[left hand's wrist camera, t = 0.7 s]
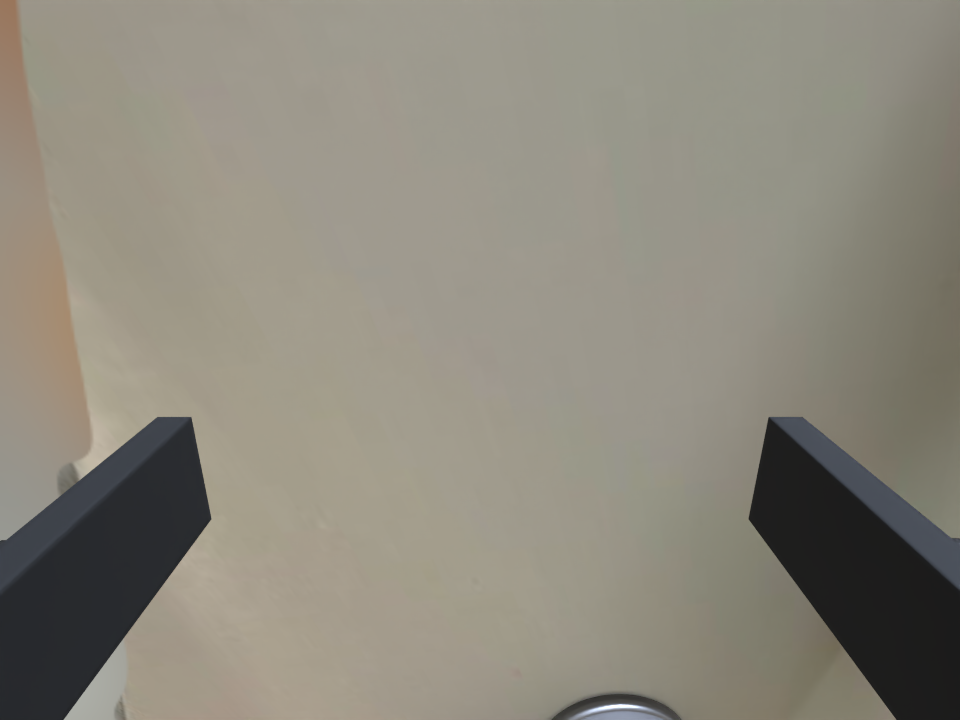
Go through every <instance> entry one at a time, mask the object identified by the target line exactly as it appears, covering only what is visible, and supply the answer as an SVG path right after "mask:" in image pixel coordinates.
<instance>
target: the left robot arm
mask: <svg viewBox="0 0 960 720" xmlns="http://www.w3.org/2000/svg"><path fill="white" fill-rule="evenodd" d="M210 520H211V514H210V509H209V504H208V499H207V494H206V489H205V484H204V479H203V474H202V469H201V464H200V459H199V454H198V449H197V444H196V439H195V434H194V428H193V423H192V418H191V417H157V418H156V419H155V420H153V421H152V422H151V423H150V424H148V425H147V426H146V427H145V428H144V429H142V430H141V431H140V432H139V433H137V434H136V435H135V436H134V437H133V438H131V439H130V440H129V441H128V442H126V443H125V444H124V445H123V446H121V447H120V448H119V449H118V450H117V451H115V452H114V453H113V454H112V455H110V456H109V457H108V458H107V459H105V460H104V461H103V462H102V463H101V464H99V465H98V466H97V467H96V468H94V469H93V470H92V471H91V472H89V473H88V474H87V475H86V476H85V477H83V478H82V479H81V480H80V481H78V482H77V483H76V484H75V485H74V486H72V487H71V488H70V489H69V490H67V491H66V492H65V493H64V494H62V495H61V496H60V497H59V498H58V499H56V500H55V501H54V502H53V503H51V504H50V505H49V506H48V507H46V508H45V509H44V510H43V511H42V512H40V513H39V514H38V515H37V516H35V517H34V518H33V519H32V520H31V521H29V522H28V523H27V524H26V525H24V526H23V527H22V528H21V529H20V530H18V531H17V532H16V533H15V534H13V535H12V536H11V537H10V538H8V539H7V540H1V541H0V720H64V718H65V717H66V716H67V714H68V713H69V711H70V710H71V709H72V707H73V706H74V705H75V703H76V702H77V701H78V699H79V698H80V697H81V695H82V694H83V692H84V691H85V690H86V688H87V687H88V686H89V684H90V683H91V682H92V680H93V679H94V677H95V676H96V675H97V674H98V672H99V671H100V669H101V668H102V667H103V665H104V664H105V663H106V661H107V660H108V658H109V657H110V656H111V654H112V653H113V652H114V650H115V649H116V648H117V646H118V645H119V644H120V642H121V641H122V640H123V638H124V637H125V636H126V634H127V633H128V631H129V630H130V629H131V627H132V626H133V625H134V623H135V622H136V621H137V619H138V618H139V617H140V615H141V614H142V612H143V611H144V610H145V608H146V607H147V606H148V604H149V603H150V602H151V600H152V599H153V598H154V596H155V595H156V594H157V592H158V591H159V589H160V588H161V587H162V585H163V584H164V583H165V581H166V580H167V579H168V577H169V576H170V575H171V573H172V572H173V570H174V569H175V568H176V566H177V565H178V564H179V562H180V561H181V560H182V558H183V557H184V556H185V554H186V553H187V551H188V550H189V549H190V547H191V546H192V545H193V543H194V542H195V541H196V539H197V538H198V537H199V535H200V534H201V532H202V531H203V530H204V528H205V527H206V526H207V524H208V523H209V522H210ZM749 520H750V522H751V523H752V524H753V526H754V527H755V528H756V530H757V531H758V532H759V534H760V535H761V537H762V538H763V539H764V541H765V542H766V543H767V545H768V546H769V547H770V549H771V550H772V551H773V553H774V554H775V556H776V557H777V558H778V560H779V561H780V562H781V564H782V565H783V566H784V568H785V569H786V570H787V572H788V573H789V575H790V576H791V577H792V579H793V580H794V581H795V583H796V584H797V585H798V587H799V588H800V589H801V591H802V592H803V594H804V595H805V596H806V598H807V599H808V600H809V602H810V603H811V604H812V606H813V607H814V608H815V610H816V611H817V612H818V614H819V615H820V617H821V618H822V619H823V621H824V622H825V623H826V625H827V626H828V627H829V629H830V630H831V631H832V633H833V634H834V636H835V637H836V638H837V640H838V641H839V642H840V644H841V645H842V646H843V648H844V649H845V650H846V652H847V653H848V655H849V656H850V657H851V659H852V660H853V661H854V663H855V664H856V665H857V667H858V668H859V669H860V671H861V672H862V674H863V675H864V676H865V678H866V679H867V680H868V682H869V683H870V684H871V686H872V687H873V688H874V690H875V691H876V693H877V694H878V695H879V697H880V698H881V699H882V701H883V702H884V703H885V705H886V706H887V707H888V709H889V710H890V711H891V713H892V714H893V716H894V717H895V718H896V720H960V539H959V538H950V537H949V536H948V535H947V534H945V533H944V532H943V531H942V530H941V529H939V528H938V527H937V526H936V525H934V524H933V523H932V522H931V521H930V520H928V519H927V518H926V517H925V516H923V515H922V514H921V513H920V512H918V511H917V510H916V509H915V508H914V507H912V506H911V505H910V504H909V503H907V502H906V501H905V500H904V499H902V498H901V497H900V496H899V495H898V494H896V493H895V492H894V491H893V490H891V489H890V488H889V487H888V486H886V485H885V484H884V483H883V482H882V481H880V480H879V479H878V478H877V477H875V476H874V475H873V474H872V473H871V472H869V471H868V470H867V469H866V468H864V467H863V466H862V465H861V464H859V463H858V462H857V461H856V460H855V459H853V458H852V457H851V456H850V455H848V454H847V453H846V452H845V451H843V450H842V449H841V448H840V447H839V446H837V445H836V444H835V443H834V442H832V441H831V440H830V439H829V438H827V437H826V436H825V435H824V434H823V433H821V432H820V431H819V430H818V429H816V428H815V427H814V426H813V425H812V424H810V423H809V422H808V421H807V420H805V419H804V418H803V417H769V418H768V423H767V428H766V434H765V439H764V444H763V449H762V454H761V459H760V464H759V469H758V474H757V479H756V484H755V489H754V494H753V499H752V504H751V509H750V514H749ZM552 720H681V719H680V718H679V716H678V715H677V714H676V713H674V712H673V711H672V710H671V709H669V708H668V707H666V706H665V705H663V704H661V703H659V702H657V701H654V700H651V699H648V698H644V697H640V696H634V695H622V694H617V695H604V696H598V697H594V698H590V699H587V700H584V701H581V702H578V703H576V704H574V705H572V706H570V707H568V708H566V709H565V710H563V711H562V712H560V713H559V714H558V715H556V716H555V717H554V718H553V719H552Z"/></svg>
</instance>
